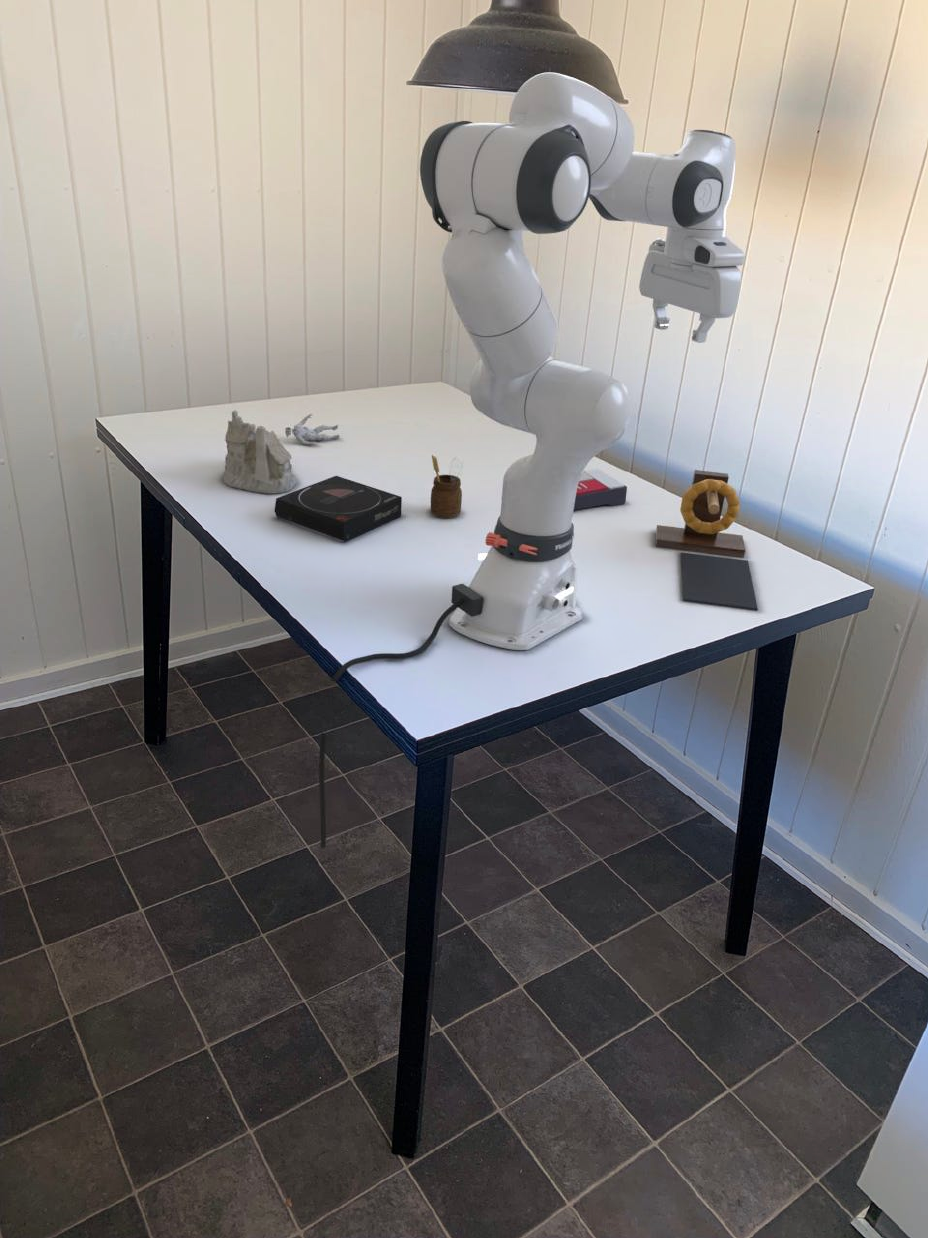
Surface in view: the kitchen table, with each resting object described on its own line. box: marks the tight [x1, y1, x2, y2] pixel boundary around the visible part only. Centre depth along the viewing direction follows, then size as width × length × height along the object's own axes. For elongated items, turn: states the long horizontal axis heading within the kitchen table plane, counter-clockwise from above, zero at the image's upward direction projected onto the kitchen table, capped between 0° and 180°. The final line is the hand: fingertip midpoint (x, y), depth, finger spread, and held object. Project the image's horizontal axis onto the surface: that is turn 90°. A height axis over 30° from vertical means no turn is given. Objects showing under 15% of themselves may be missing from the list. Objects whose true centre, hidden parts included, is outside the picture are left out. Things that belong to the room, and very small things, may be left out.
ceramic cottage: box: [222, 409, 297, 495], centre depth 193 cm, size 16×16×15 cm
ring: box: [679, 479, 741, 534], centre depth 169 cm, size 10×2×10 cm, turn 80°
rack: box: [655, 469, 746, 558], centre depth 171 cm, size 16×16×14 cm
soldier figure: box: [284, 413, 340, 446], centre depth 216 cm, size 8×5×12 cm
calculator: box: [573, 468, 628, 511], centre depth 195 cm, size 11×4×15 cm
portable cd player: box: [273, 475, 403, 544], centre depth 179 cm, size 16×17×4 cm
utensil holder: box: [430, 454, 463, 519], centre depth 182 cm, size 6×6×12 cm
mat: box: [680, 551, 759, 611], centre depth 165 cm, size 19×12×1 cm, turn 170°
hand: (679, 335), depth 157 cm, fingers open, 8 cm apart
